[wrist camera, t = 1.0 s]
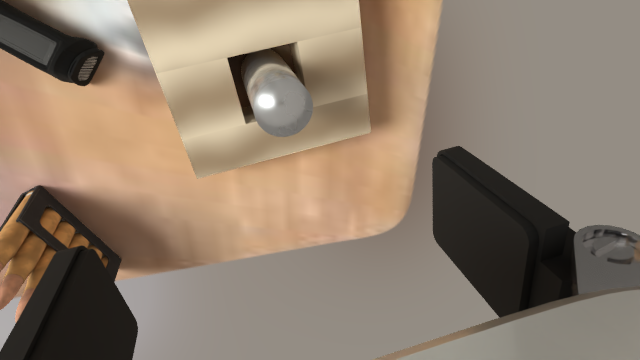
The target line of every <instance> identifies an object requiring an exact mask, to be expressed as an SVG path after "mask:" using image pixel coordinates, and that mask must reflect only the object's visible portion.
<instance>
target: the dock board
mask: <svg viewBox="0 0 640 360" xmlns="http://www.w3.org/2000/svg"><path fill="white" fill-rule="evenodd" d="M127 1H128V3H129V6H130V8H131V11H132V14H133V16H134V19H135V21H136V24H137V26H138V29H139V31H140V34H141V37H142V39H143V42H144V44H145V47H146V49H147V52H148V54H149V57H150V60H151V62H152V65H153V67H154V70H155V72H156V75H157V77H158V80H159V83H160V85H161V88H162V90H163V93H164V95H165V98H166V100H167V103H168V106H169V108H170V111H171V113H172V116H173V118H174V121H175V123H176V126H177V129H178V131H179V134H180V136H181V139H182V141H183V144H184V146H185V149H186V152H187V154H188V157H189V159H190V162H191V164H192V167H193V170H194V172H195V175H196V177H197V179H199V178H203V177H206V176H210V175H214V174H218V173H221V172H225V171H229V170H233V169H236V168H240V167H244V166H248V165H251V164H255V163H259V162H262V161H266V160H270V159H274V158H277V157H281V156H285V155H289V154H292V153H296V152H300V151H304V150H307V149H311V148H315V147H319V146H322V145H326V144H330V143H333V142H337V141H341V140H345V139H348V138H352V137H356V136H360V135H363V134H367V133H371V125H370V115H369V104H368V94H367V83H366V72H365V62H364V51H363V40H362V30H361V19H360V8H359V0H127ZM285 44H290V48H291V53H292V59H293V64H294V69H295V74H296V76H297V78H298V79H299V80H300V82H301V83H302V84H303V85H304V87H305V88H306V89H307V90H308V92H309V93H310V95H311V98H312V101H313V113H312V116H311V119H310V121H309V122H308V124H307V125H306V126H305V128H304V129H302V130H301V131H300V132H298V133H296V134H294V135H291V136H287V137H277V136H273V135H270V134H268V133H267V132H265V131H264V130H263V129H262V128H261V127H260V126H259V124H258V123H257V121H256V118H255V115H254V112H253V109H252V106H248V107H244V108H241V105H240V101H239V98H238V94H237V91H236V87H235V83H234V80H233V76H232V73H231V69H230V66H229V62H228V59H227V58H228V57H232V56H237V55H241V54H245V53H250V52H254V51H259V50H263V49H268V48H272V47H276V46H281V45H285Z"/></svg>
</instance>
